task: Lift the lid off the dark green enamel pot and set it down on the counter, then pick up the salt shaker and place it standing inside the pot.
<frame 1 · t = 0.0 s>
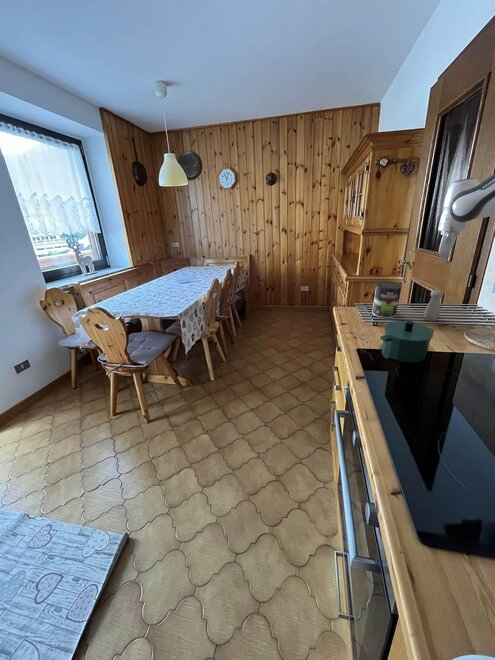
hand: (443, 260, 117), 24 cm above the counter, tool pointing down, fingers open, 8 cm apart
pot: (402, 355, 100), on the counter
lid: (407, 331, 96), point 9 cm above the counter, touching pot
salt shaker: (430, 319, 123), on the counter
coffee can: (383, 314, 131), on the counter
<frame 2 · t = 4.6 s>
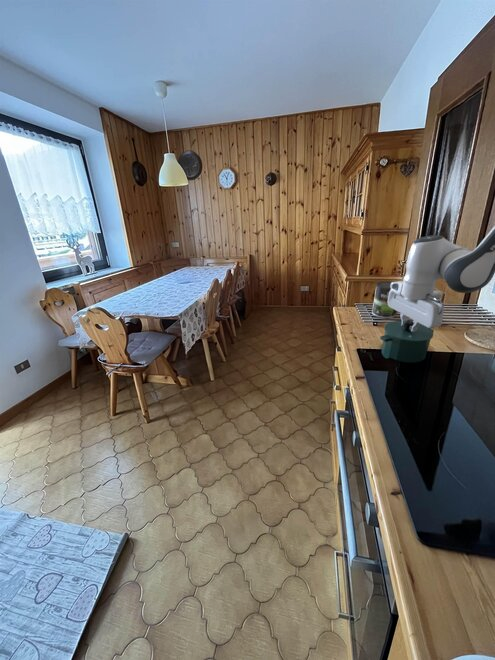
hand: (408, 328, 95), 11 cm above the counter, tool pointing down, fingers closed on lid, 2 cm apart
lid: (407, 331, 96), point 10 cm above the counter, touching gripper, pot
everything else where it was.
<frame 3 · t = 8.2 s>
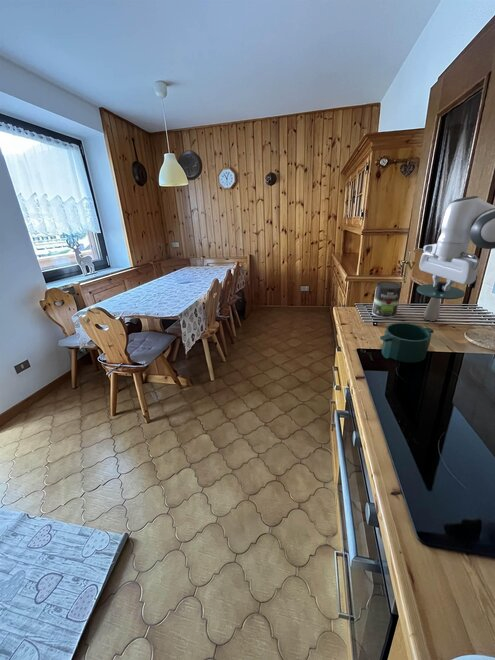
hand: (440, 288, 101), 20 cm above the counter, tool pointing down, fingers closed on lid, 2 cm apart
lid: (439, 291, 102), point 19 cm above the counter, touching gripper
everything else where it was.
when the fingers open (2 cm above the counter, at t = 12.2 s): lid stays where it is, point 1 cm above the counter.
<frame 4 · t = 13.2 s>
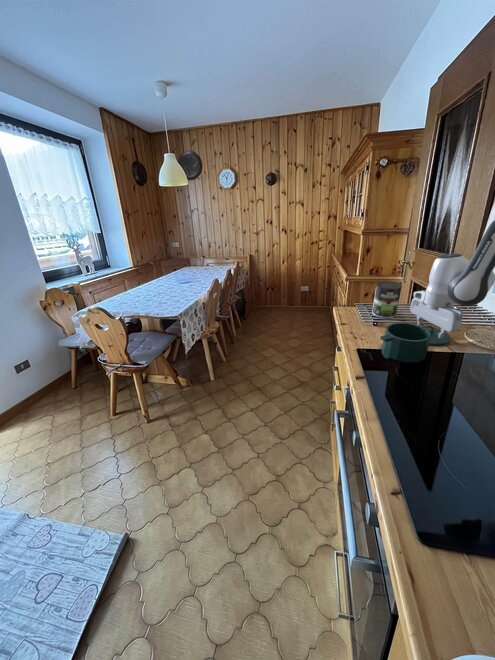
hand: (429, 332, 109), 2 cm above the counter, tool pointing down, fingers open, 8 cm apart
lid: (428, 335, 110), point 1 cm above the counter
everything else where it was.
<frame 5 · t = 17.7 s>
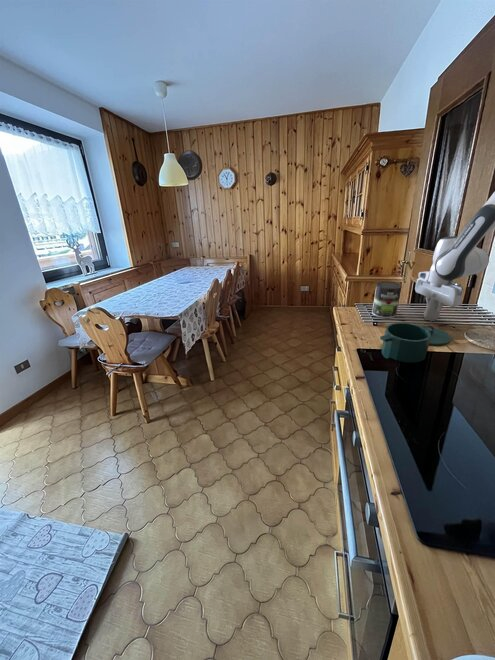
hand: (432, 308, 121), 5 cm above the counter, tool pointing down, fingers closed on salt shaker, 3 cm apart
salt shaker: (430, 320, 123), on the counter, touching gripper
everything else where it was.
when the fingers open (6 cm above the counter, at t = 27.5 s): salt shaker stays where it is, resting on pot.
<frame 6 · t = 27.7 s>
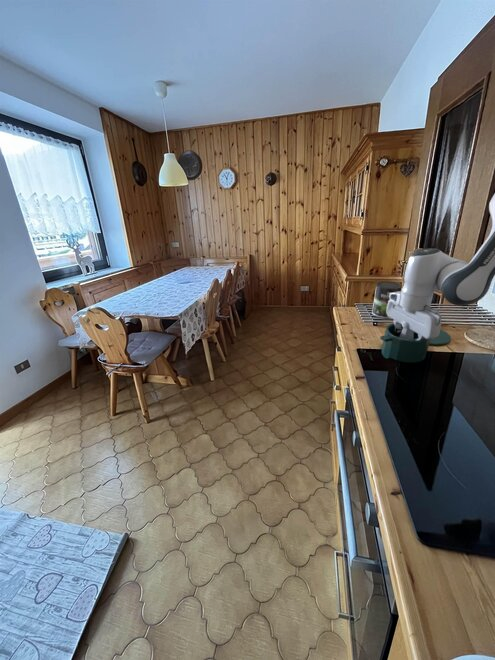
hand: (407, 338, 97), 7 cm above the counter, tool pointing down, fingers open, 8 cm apart
salt shaker: (402, 354, 100), resting on pot
everything else where it was.
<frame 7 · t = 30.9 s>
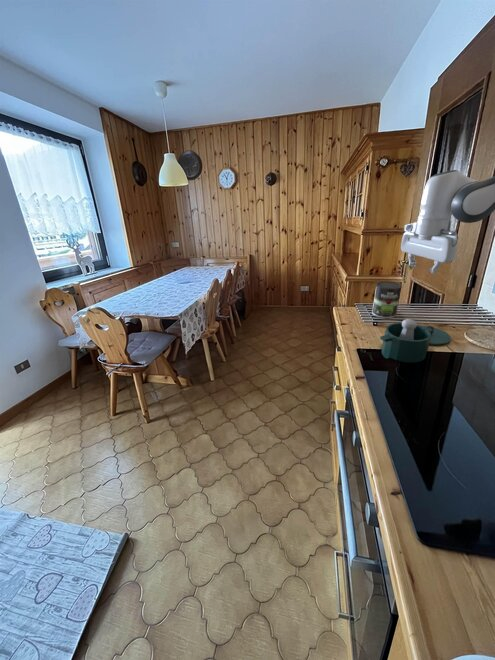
hand: (421, 269, 98), 27 cm above the counter, tool pointing down, fingers open, 8 cm apart
nothing on the counter moved.
at the end: lid inside the target area (0.2 cm from its centre), point 0.6 cm above the counter; salt shaker 0.0 cm off-centre in the pot, point 0.3 cm above the pot's base; salt shaker tilted 0° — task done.
